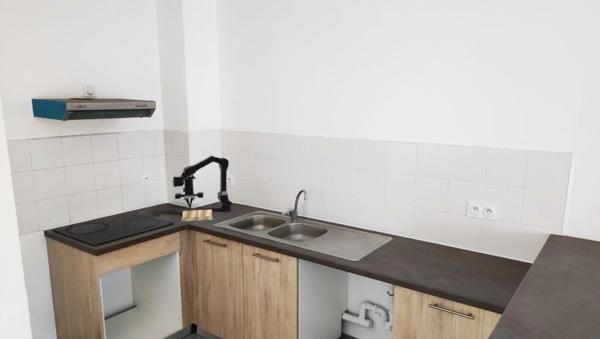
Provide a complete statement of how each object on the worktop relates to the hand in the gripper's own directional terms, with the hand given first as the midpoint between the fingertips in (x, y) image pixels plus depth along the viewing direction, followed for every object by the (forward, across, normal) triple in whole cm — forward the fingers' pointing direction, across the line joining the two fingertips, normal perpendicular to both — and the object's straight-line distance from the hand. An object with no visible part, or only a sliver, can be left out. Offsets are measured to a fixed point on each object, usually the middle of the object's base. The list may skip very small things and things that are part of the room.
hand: (189, 207), depth 285 cm
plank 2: (+5, -10, +2) cm, 11 cm away
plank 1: (+5, 0, +2) cm, 5 cm away
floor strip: (+6, -5, +10) cm, 13 cm away
